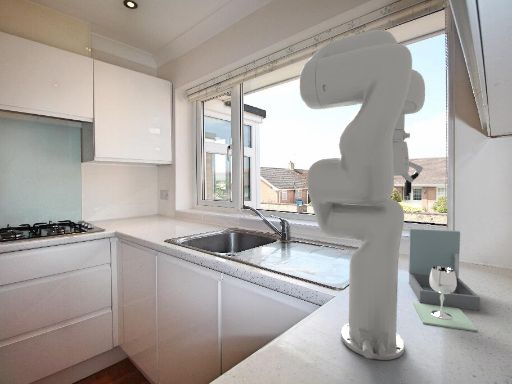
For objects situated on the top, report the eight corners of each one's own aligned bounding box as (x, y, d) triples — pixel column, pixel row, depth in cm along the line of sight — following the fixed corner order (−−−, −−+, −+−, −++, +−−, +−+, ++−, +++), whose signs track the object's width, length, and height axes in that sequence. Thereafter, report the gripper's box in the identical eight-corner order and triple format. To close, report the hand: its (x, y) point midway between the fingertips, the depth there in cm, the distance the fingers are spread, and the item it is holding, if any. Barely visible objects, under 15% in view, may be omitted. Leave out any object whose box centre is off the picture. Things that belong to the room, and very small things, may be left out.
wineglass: (425, 314, 70) (426, 269, 69) (431, 307, 74) (432, 263, 73) (452, 323, 66) (454, 274, 65) (457, 315, 70) (459, 269, 69)
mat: (477, 331, 63) (477, 330, 63) (423, 323, 66) (423, 322, 66) (459, 309, 73) (459, 308, 73) (413, 303, 77) (413, 302, 77)
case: (479, 310, 73) (482, 242, 72) (419, 302, 78) (421, 238, 77) (456, 287, 88) (458, 230, 87) (408, 282, 93) (409, 228, 92)
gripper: (420, 138, 82) (418, 195, 82) (358, 141, 87) (357, 194, 88) (426, 134, 74) (424, 196, 75) (359, 137, 80) (358, 195, 81)
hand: (388, 195), depth 82 cm, fingers open, 9 cm apart
